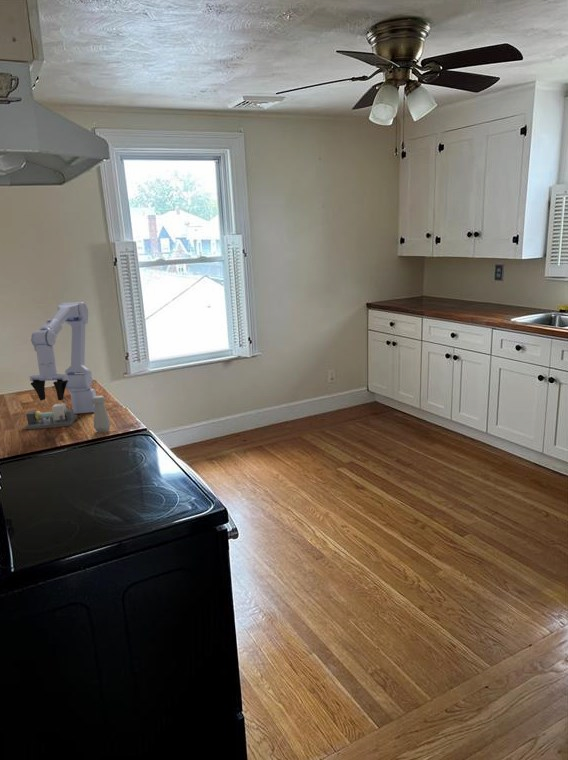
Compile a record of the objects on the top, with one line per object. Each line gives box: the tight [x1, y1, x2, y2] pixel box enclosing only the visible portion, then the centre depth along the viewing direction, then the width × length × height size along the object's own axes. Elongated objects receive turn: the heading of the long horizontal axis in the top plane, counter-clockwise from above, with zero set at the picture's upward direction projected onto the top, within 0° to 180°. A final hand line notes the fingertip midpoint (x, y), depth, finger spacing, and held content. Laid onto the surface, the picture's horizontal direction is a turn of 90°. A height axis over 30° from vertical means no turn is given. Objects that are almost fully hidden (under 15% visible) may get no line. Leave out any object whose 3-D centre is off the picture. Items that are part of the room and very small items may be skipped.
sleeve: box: [51, 402, 68, 421], centre depth 206 cm, size 4×4×5 cm
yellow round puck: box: [35, 410, 42, 421], centre depth 205 cm, size 1×4×4 cm, turn 7°
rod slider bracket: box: [25, 408, 78, 430], centre depth 206 cm, size 16×10×5 cm, turn 97°
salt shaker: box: [92, 395, 112, 434], centre depth 192 cm, size 6×6×13 cm
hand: (51, 399), depth 198 cm, fingers open, 7 cm apart
